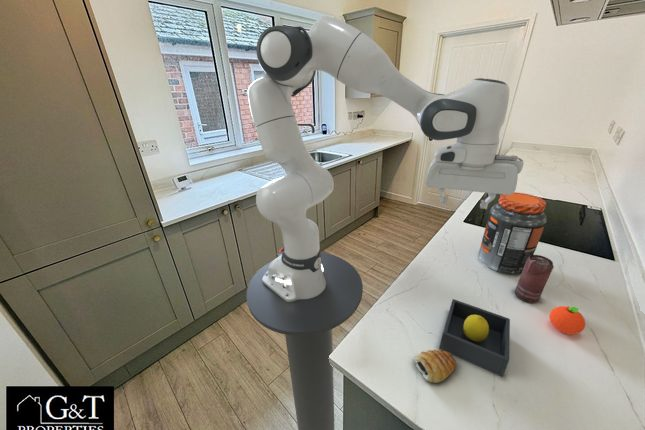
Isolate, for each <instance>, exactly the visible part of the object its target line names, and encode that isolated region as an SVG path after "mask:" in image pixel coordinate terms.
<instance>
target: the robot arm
mask: <svg viewBox="0 0 645 430" xmlns="http://www.w3.org/2000/svg"><path fill="white" fill-rule="evenodd" d="M255 50H256V57H257V61H258V64H259V66H260V68H261V69H262V71H263V72H264V73H265V74H264V75H263V76H262V77H260V78H256V80H254V81H253V82H252V83H251V84H250V85H249V86H248V89H247V99H248V104H249V110H250V114H251V118H252V122H253V126H254V128H255V131H256V135H257V137H258V140H259V143H260V146H261V150H262V152H263V155H264V156H265V158H267V159H268V160H269V161H271V162H274V163H277V164H278V165H279V166H280V167H281V168H282V169H283V171H284V172H285V174H286V175H284V176H283V175H282V176H280V177H278V178H275V179H272V180H270V181H269V182H267V183H266V184H264V185H263V186H262V187H260V188H259V189H257V192H256V196H255V204H256V208H257V210H258V212H259V213H260V215H261V216H262V217H263V218H264V219H265V220H267V221H269V222H272V223H274V224H276V225H277V226H278V228H279V230H280V231H281V236H282V241H283V246H282V248H280V249H279V250H278V251H277V252H278V253H276V258H275V259H273V260H271V261H272V262H271V261H270V262H271V264H270V265H269V268H268V271H267V272H266V273H265V274H264V276H263V278H262V282H263V283H264V284H265V285H267V286H268V287H269V288H270V289H272V290H273V291H274V292H275V293H277V294H278V295H279V296H280V297H282V298H283V299H284V300H285V301H287V302H292V301H295V300H300V299H310V298H313V297H316V296H318V295H319V294H321V293H322V292H323V290H324V289H325V287H326V280H325V277H324V274H323V267H322V264H321V260H322V256H321V252H322V246H321V245H320V244H321V243H320V228H319V226H318V225H317V223H316V222H315V221H313V220H312V219H309V218H307V211H308V210H309V209H310V208H312V207H314V206H316V205H318V204H320V203H322V202H324V200H326V199H327V198H328V197H329V196H330V195H331V194H332V193H333V191H334V186H335V182H334V177H333V176H332V174H331V172H330V171H329V170H328V169H327V168H325V167H323V166H322V165H320V164H319V163H318V162H317V161H316V160H315V159H314V158H313V156H312V155H311V154H310V152H309V150H308V149H307V147H306V144H305V142H304V139H303V136H302V133H301V130H300V127H299V124H298V120H297V117H296V114H295V111H294V108H293V104H292V97H296V96H298V94H300V93H301V92H302V91H304V90H305V89H307V87H309V86H310V85H311V84H312V82H313V81H314V79H315V77H316V72H317V71H321V72H324V73H327V74H328V75H329V76H331V77H332V78H334V79H335V80H336V81H338V82H340V83H341V84H343V85H345V86H346V87H348V88H350V89H353V90H356V91H357V92H359V93H364V94H370V95H371V94H372V95H378V96H382V97H385V98H387V99H389V100H390V101H392V102H393V103H395V104H396V105H398V106H400V107H401V108H402V109H403V110H406V111H408V112H409V113H410V114H412V116H413V117H414V118H415V120H416V122H417V123H418V125H419V128H420V130H421V131H422V133H423V134H424V136H426V137H427V138H429V139H430V140H434V141H445V140H453V139H456V140H455V141H456V142H455V143H454V144H450V145H449V144H448V145H445V146H441V147H438V148H437V149H436V150H435V152H434V158H433V159H432V160H431V162H430V164H429V166H428V170H427V173H426V177H425V185H426V187H427V188H434V189H435V188H436V189H438V191H437V192H438V194H439V196H440V204H442V205H447V204H448V195H445V193H444V192H445V189H446V190H454V191H455V190H456V191H466V192H474V193H485V194H488V196H487V197H486V198H485V199H481V200H480V204H479V208H480V209H484V210H488V207H489V204H490V203H491V202H492V201H494V200H495V199H496V197H497V195H501V194H504V195H511V194H512V193H514V192H516V190H517V185H518V180H519V179H518V178H519V174H520V173H521V172H522V170H523V167H524V164H525V163H524V160H523V158H520V157H519V156H518V155H515V154H514V155H507V154H497V151H498V148H499V144H500V132H501V129H502V127H503V125H504V124H505V121H506V116H507V113H508V107H509V101H510V87H509V85H508V84H507V83H506V82H505V81H502V80H499V79H491V78H482V77H481V78H474V79H472V80H471V81H469V82H468V83H466V84H465V85H463V86H462V87H460V88H457V89H456V90H453V91H450V92H449V93H446V94H444V93H435V92H434V93H433V92H430V91H428V90H426V89H424V87H423V88H422V87H421V86H419V85H418V84H417V83H416V82H414V81H412V80H411V79H409V78H407V77H406V76H405V75H404V74H402V72H400V70H399V69H398V68H397V67H396V66H395V65H394V63H393V62H392V60H391V58H390V57H389V55H388V54H387V53H386V52H385V50H383V48H382V47H381V46H380V45H379V44H378V43H376V42H375V41H374V40H373V39H372V38H371V37H370V36H369V35H367V34H366V33H364V32H362V31H361V30H360V29H358V28H356V27H355V26H353V25H351V24H348V23H347V22H344V21H343V20H341V19H338V18H335V17H332V16H329V15H324V16H320V17H319V18H318V19H316V20H315V21H314V22H313V24H312V25H311V26H310V28H309V31H307V30H306V29H305V28H304V27H303V26H300V25H299V26H287V25H272V26H270V27H268V28H266V29H265V30H263V32H262V33H260V36H259V37H258V40H257V43H256V49H255ZM287 296H288V297H287Z"/></svg>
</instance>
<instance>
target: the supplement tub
mask: <svg viewBox="0 0 645 430" xmlns="http://www.w3.org/2000/svg"><path fill="white" fill-rule="evenodd" d="M497 201H498V202H497V203H495V204H493V206H492V207H490V210H489V213H488V217H487V221H486V223H485V224H486V225H485V228H484V231H483V235H482V239H481V242H480V247H479V250H478V258H479V260H480V262H481V263H482V264H484V265H485V266H486V267H488V269H490V270H492V271H495V272H497V273H501V274H506V275H519V274H520V275H521V273H522V271H523V268H524V266H525V263H526V260H527V258H528V257H530V256H531V255H535V252H536V250H537V248H538V245H539V243H540V239H541V237H542V235H543V232H544V229H545V227H546V224H547V220H548V219H547V215H546V213H545V210H546V206H547V201H546V200H544V199H543V198H541V197H539V196H537V195H533V194H529V193H525V192H517V191H515V192H514V193H512V194H511V195H504V194H499V198H498V200H497Z"/></svg>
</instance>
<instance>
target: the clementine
mask: <svg viewBox="0 0 645 430" xmlns="http://www.w3.org/2000/svg"><path fill="white" fill-rule="evenodd" d="M579 310H580V309H579V308H578V307H576V306H566V305H560V306H556V307H554V308H553V309H552V310H551V311H550V313H549V321H550V323H551V325H552V326H553V327H554V328H555V329H556V330H557V331H559V332H561V333H563V334H567V335H577V334H580V333H582V332H583V331H584V330H585V328H586V319H585V317H584V316H583V315H582V313H581V312H580V311H579Z"/></svg>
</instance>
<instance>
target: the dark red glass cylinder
mask: <svg viewBox="0 0 645 430" xmlns="http://www.w3.org/2000/svg"><path fill="white" fill-rule="evenodd" d="M553 269H554V262H553V261H552V260H551V259H550V258H548V257H546V256H544V255H540V254H533V255H531V256H530V257H528V258H527V260H526V263H525V266H524V268H523V271H522V273H520V276H519V278H518V281H517V283H516V284H517V285H516V287H515V290H514V293H515V296H516V298H518V299H519V300H521V301H522V302H525V303H528V304H535V303H537V302H539V301H540V298H541V297H542V294H543V291H544V289H545V288H546V285H547V283H548V281H549V279H550V276H551V274H552V271H553Z"/></svg>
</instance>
